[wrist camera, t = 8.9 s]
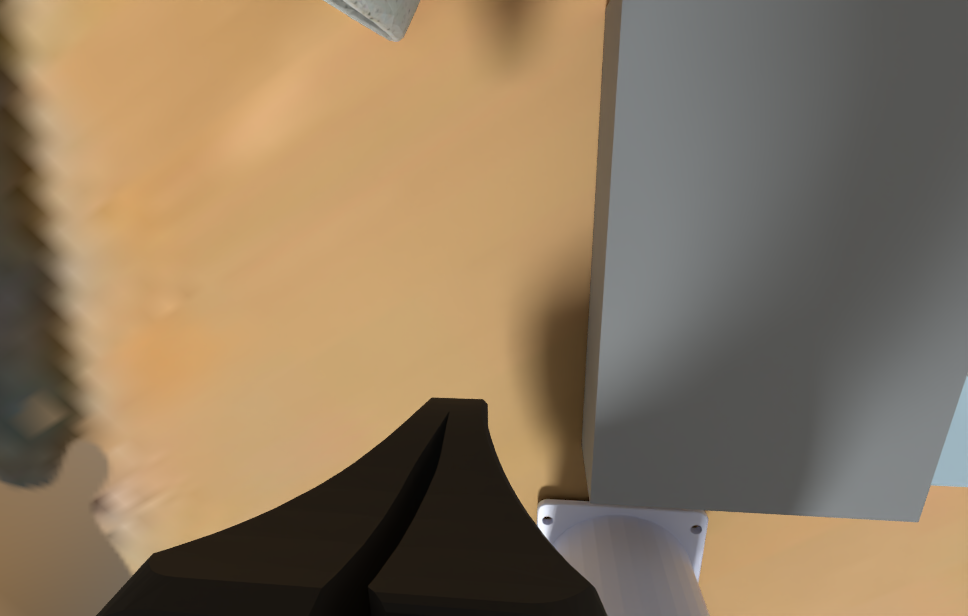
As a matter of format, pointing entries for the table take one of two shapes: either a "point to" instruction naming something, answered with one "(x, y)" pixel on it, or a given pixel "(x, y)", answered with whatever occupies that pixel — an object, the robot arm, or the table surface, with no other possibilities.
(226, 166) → the table surface
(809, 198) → the plate
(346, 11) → the ceramic mug
